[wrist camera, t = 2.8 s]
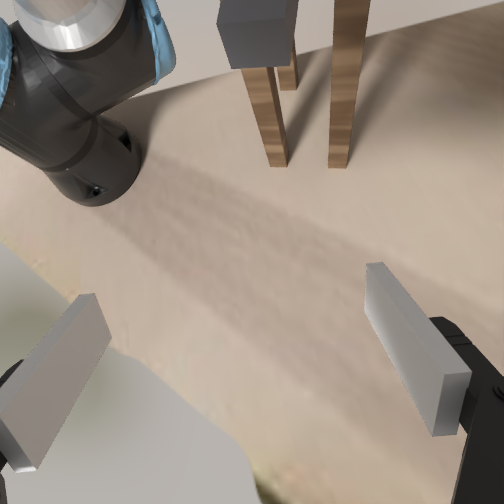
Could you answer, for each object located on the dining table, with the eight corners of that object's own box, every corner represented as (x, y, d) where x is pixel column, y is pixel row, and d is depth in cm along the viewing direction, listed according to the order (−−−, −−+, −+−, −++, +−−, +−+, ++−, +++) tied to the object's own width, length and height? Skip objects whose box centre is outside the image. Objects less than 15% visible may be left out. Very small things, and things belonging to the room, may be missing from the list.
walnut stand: (345, 168, 46) (386, -105, 17) (270, 166, 48) (197, -74, 20) (353, 74, 49) (396, -281, 21) (282, 77, 52) (235, -236, 23)
